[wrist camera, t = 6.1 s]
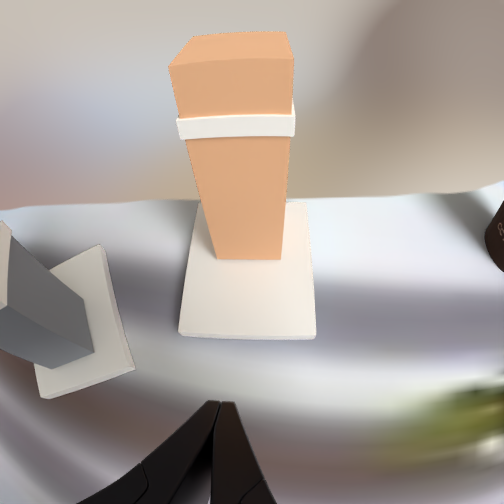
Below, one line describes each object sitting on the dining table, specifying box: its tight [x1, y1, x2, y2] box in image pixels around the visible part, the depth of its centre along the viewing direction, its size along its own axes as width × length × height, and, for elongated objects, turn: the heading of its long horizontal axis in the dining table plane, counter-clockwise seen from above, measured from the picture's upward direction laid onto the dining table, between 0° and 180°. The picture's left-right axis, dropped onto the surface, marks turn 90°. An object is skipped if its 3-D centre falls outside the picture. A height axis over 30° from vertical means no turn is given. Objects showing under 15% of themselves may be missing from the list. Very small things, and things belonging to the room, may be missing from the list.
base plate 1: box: [34, 244, 136, 399], centre depth 19 cm, size 11×9×1 cm
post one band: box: [168, 32, 296, 260], centre depth 15 cm, size 5×5×14 cm
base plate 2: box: [178, 202, 316, 340], centre depth 21 cm, size 11×9×1 cm
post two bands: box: [0, 220, 95, 369], centre depth 11 cm, size 5×5×14 cm
